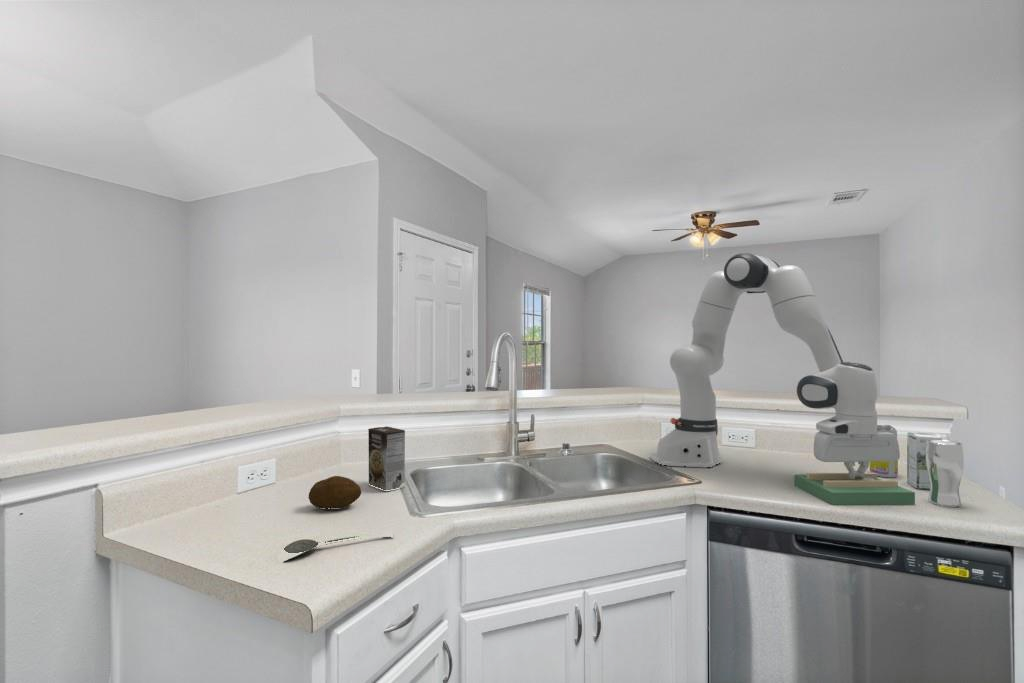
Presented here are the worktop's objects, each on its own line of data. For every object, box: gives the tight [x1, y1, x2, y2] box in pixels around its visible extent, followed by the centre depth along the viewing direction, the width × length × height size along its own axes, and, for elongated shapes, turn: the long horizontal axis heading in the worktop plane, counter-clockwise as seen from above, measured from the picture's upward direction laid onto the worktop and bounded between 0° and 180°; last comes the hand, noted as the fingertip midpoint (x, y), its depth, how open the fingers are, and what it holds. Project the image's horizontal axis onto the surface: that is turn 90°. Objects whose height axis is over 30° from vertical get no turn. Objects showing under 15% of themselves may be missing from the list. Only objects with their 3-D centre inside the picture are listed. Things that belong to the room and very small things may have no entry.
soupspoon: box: [283, 535, 360, 553], centre depth 95 cm, size 22×3×7 cm
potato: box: [307, 475, 362, 510], centre depth 118 cm, size 8×12×8 cm, turn 102°
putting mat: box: [793, 472, 916, 506], centre depth 126 cm, size 20×16×4 cm
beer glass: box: [925, 439, 965, 508], centre depth 119 cm, size 7×7×15 cm
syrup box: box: [906, 431, 943, 491], centre depth 131 cm, size 6×6×14 cm
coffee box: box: [367, 426, 406, 490], centre depth 135 cm, size 9×6×16 cm
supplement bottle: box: [869, 460, 899, 479], centre depth 143 cm, size 7×7×13 cm
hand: (856, 478), depth 126 cm, fingers closed
